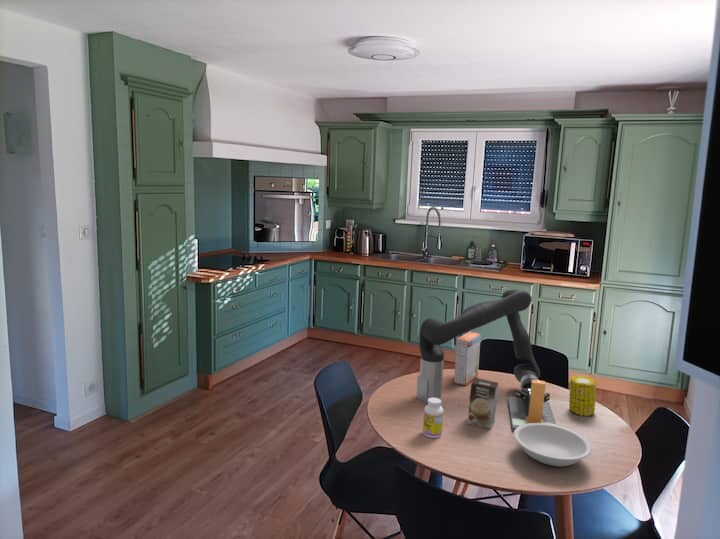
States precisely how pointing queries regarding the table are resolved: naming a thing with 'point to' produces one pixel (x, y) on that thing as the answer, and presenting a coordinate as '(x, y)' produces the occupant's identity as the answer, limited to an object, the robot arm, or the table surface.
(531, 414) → the block
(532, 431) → the soup bowl
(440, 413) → the supplement bottle
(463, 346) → the cracker box
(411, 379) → the table surface
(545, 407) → the fader board
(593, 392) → the food
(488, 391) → the coffee box
